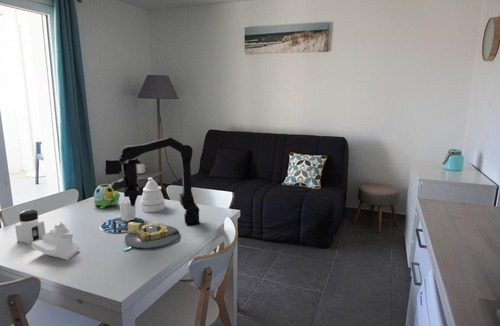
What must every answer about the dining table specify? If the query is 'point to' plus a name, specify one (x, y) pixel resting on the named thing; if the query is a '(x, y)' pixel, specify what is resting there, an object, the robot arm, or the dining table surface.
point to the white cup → (127, 209)
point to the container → (29, 227)
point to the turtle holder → (105, 196)
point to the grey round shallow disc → (136, 243)
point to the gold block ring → (146, 235)
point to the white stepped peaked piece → (57, 243)
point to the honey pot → (152, 197)
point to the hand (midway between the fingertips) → (132, 206)
